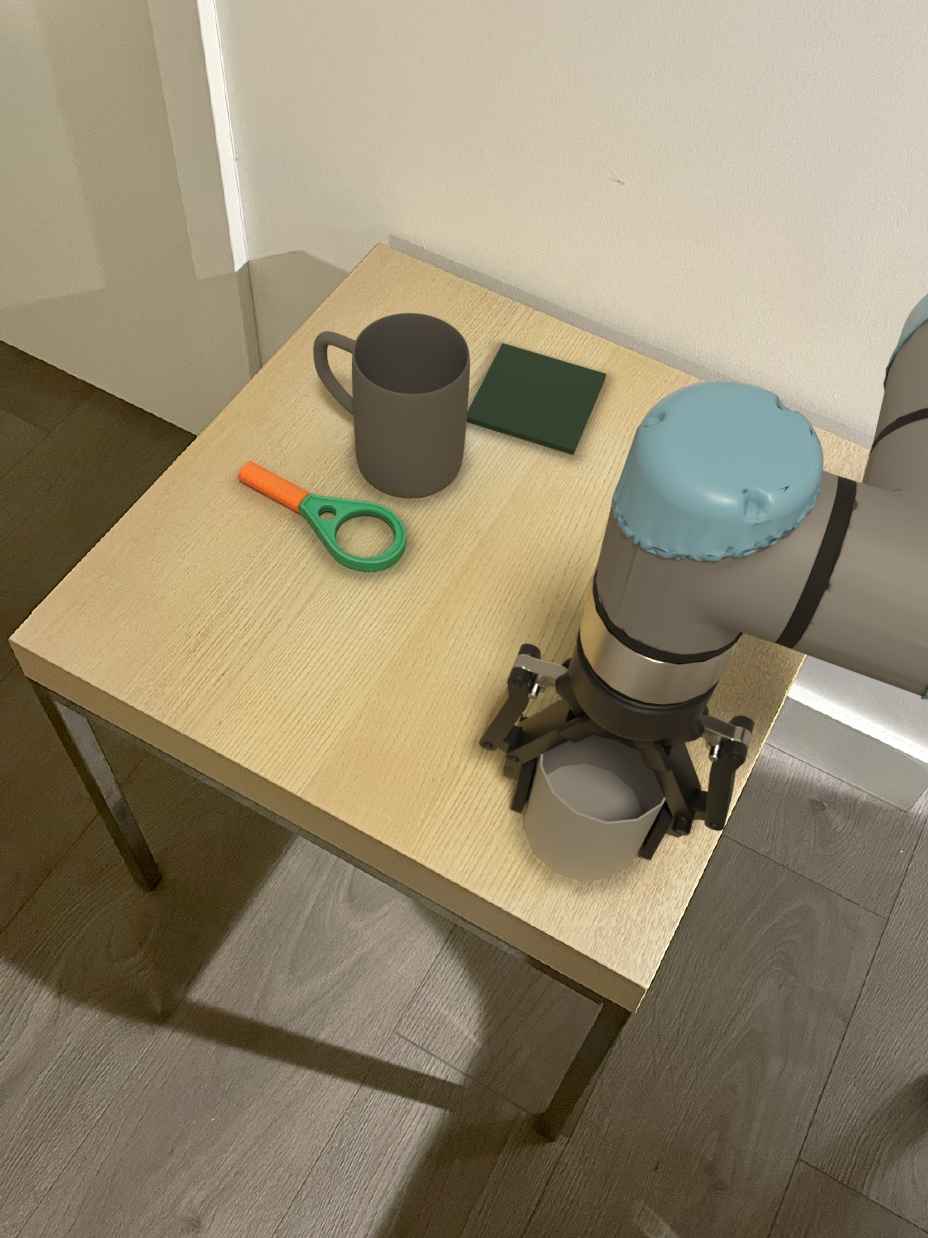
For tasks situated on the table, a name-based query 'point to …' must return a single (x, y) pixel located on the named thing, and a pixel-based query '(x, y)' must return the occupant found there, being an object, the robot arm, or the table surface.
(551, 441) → the coaster mat
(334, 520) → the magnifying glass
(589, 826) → the cup
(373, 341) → the mug
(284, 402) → the table surface
